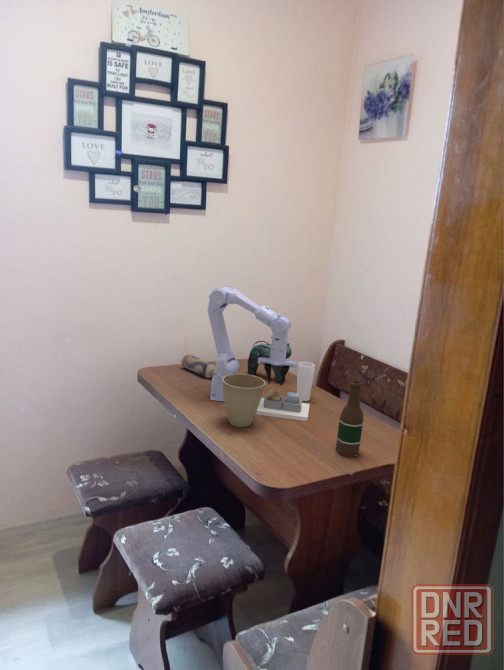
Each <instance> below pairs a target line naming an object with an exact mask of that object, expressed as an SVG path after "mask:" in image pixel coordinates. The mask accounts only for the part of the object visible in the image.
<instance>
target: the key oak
mask: <svg viewBox="0 0 504 670" xmlns="http://www.w3.org/2000/svg"><path fill="white" fill-rule="evenodd" d="M267 394H268V400H274V401H279V400H280V396H282V391H281V390H278V389H277V390H275V389H269V390H268V393H267Z"/></svg>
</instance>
